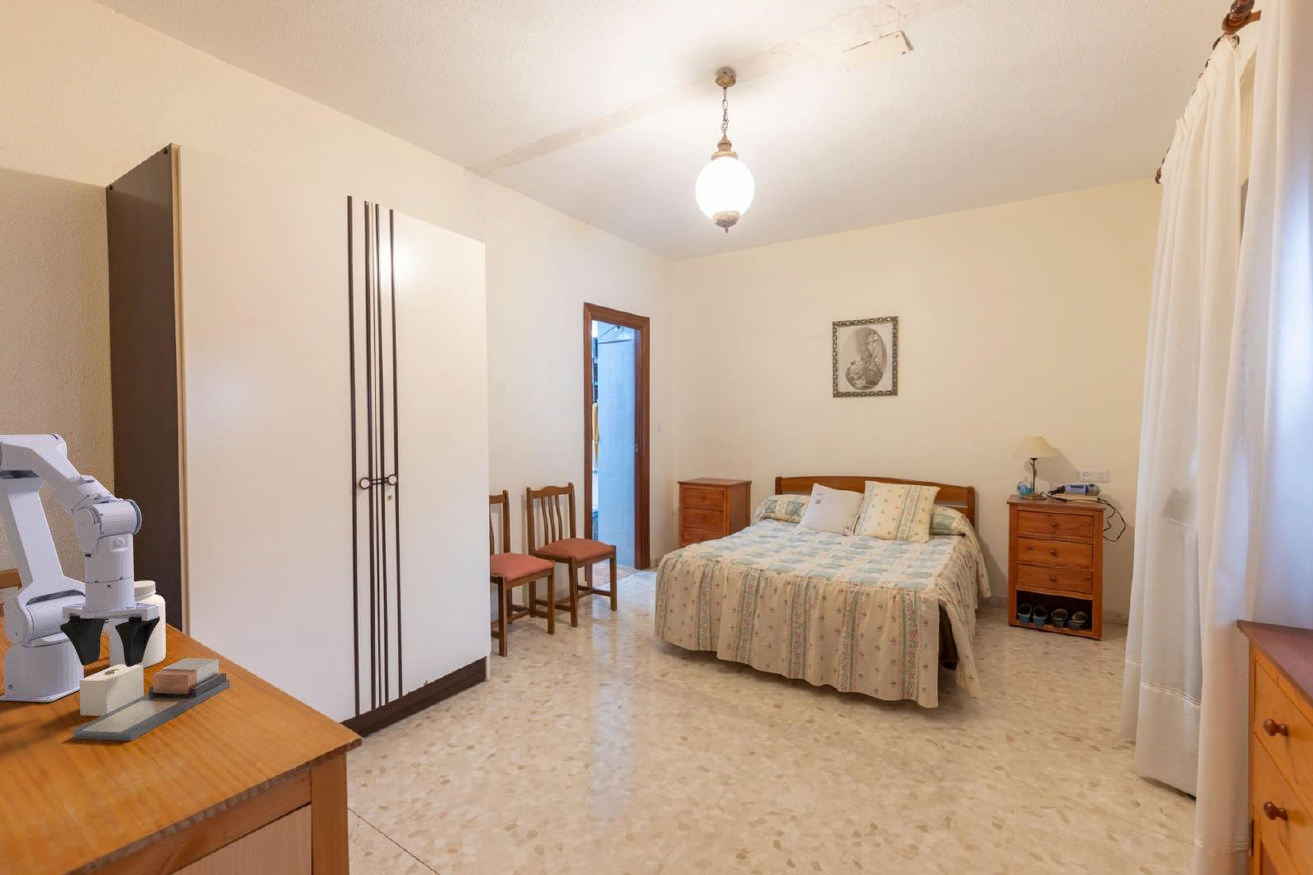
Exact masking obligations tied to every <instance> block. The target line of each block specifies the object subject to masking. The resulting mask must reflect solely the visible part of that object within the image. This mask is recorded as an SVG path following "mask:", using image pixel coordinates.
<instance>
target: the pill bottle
mask: <svg viewBox="0 0 1313 875" xmlns="http://www.w3.org/2000/svg"><path fill="white" fill-rule="evenodd" d="M156 593H157V591H156V582H155V581H154V580H137V581H134V601H136V602H141V603H146V604H151V605H159V616H160V621H159V622H158V624H157V625H156V627H155V628H154V630H153V632H152V634H151V636H150V638H149V641H148V643H147V646H146V649H145V653H144V657H143V660H142V662H141V663H139V664H136V665H143V669H145V668H148V667H151V666H154V665H157V664H159V663H161V662H162V661H163V660H165V658H166V655H167V654H166V653H167V651H166V650H167V645H166V644H167V640H166V601H165V599H164V597H163V596H161V595H159V594H156ZM124 622H129V621H128V619H109V636H108V638H109V639H108V640H109V643H108V644H109V668H110V667H113V666H115V665H118V664H119V665H126V664H125V660H124V650H123V644H122V641H121V638H120V636H119V634H118V632H117V630H116V629H115V625H118V624H121V623H124Z"/></svg>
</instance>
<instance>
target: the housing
mask: <svg viewBox="0 0 1313 875" xmlns="http://www.w3.org/2000/svg"><path fill="white" fill-rule="evenodd" d="M144 681H145V680H144V668H143V665H134V666H132V667H126V665H119V664H118V665H115V666H113V667H110V666H109V667H108V668H106V669H103V670H101V671H98V672H95V673H94V674H90V675H88V676H86V677H84V678H83V679H81V680H79V685H80V690H79V711H80V713H79V715H81V716H93V717H94V716H95V717H96V716H98V717H101V716H103V715H105V714H107V713H109V712H111V711H113V710H115V709H117V708H119V707H122V706H124V705H126V704H128V703H130V702H132V701H134V700H136V699H138V698H140V697H142V696H144V695H145V694H144V693H145V690H144V688H145V684H144V683H145V682H144Z"/></svg>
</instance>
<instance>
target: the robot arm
mask: <svg viewBox="0 0 1313 875" xmlns="http://www.w3.org/2000/svg"><path fill="white" fill-rule="evenodd" d="M49 485H50V486H51V487H52V488H54V490H53V494H52V496H53V500H54V501H55V503H57V504H58V506H60V507H61V508H62V509H63V510H64V511H65V512H66V513H67V514H68V515H69V516H70V518H72V519H73V520H74V521H73V522H72V523H73V531H74V534H75V536H76V538H77V540H78V549H79V551H80V553H83V559H84V564H83V565H84V582H83V581H80V580H78V579H74V578H71V577H68V576H65V575H64V572H63V568H62V565H61V562H60V559H59V555H58V553H57V548H56V545H55V543H54V539H53V537H52V534H51V531H50V526H49V524H48V523H49V522H48V520H47V518H46V513H45V511H44V507H43V505H42V501H41V497H40V495H39V492H40V490H41V489H43V488H45V487H47V486H49ZM0 515H1V520H2V522H3V527H4V529H5V532H6V535H7V539H8V543H9V546H10V549H11V553H12V556H13V560H14V563H15V566H16V569H17V572H18V577H19V579H20V582H21V583H20V584H21V587H20V588H19V589H18V590H17V591H16V592H14V593H13V594H12V595H11V596H9V598H7V599H6V601H5V602H4V604H3V605H2V607H3V608H2V610H3V615H4V616H3V617H4V621H3V629H4V633H5V636H6V637H7V639H8V640H9V641H10V642H12V643H13V644H12V645H11V646H10V647H9V649H8V650H7V651H6V653H5V655H4V658H3V661H2V662H3V663H2V664H3V688H4V689H3V692H4V694H3V695H1V696H0V701H8V702H11V701H12V702H31V703H32V702H34V703H37V702H39V703H50V702H54V701H56V700H58V699H62V698H63V697H65V696H68V695H70V694H73V693H75V692H77V691H80V685H79V680H81V679H83V678H85V674H84V671H85V669H84V666H88V665H91V664H93V663H95V662H98V661H99V660H100V655H101V640H102V639H101V638H102V636H101V633H102V629H103V626H104V622H105V620H106V619H128V621H129V622H124V623H121V624H118V625H115V629H116V630H117V632H118V634H119V636H120V638H121V641H122V644H123V650H124V660H125V664H126V667H132V666H134V665H136V664H139V663H141V662H142V660H143V657H144V653H145V649H146V646H147V643H148V641H149V638H150V636H151V634H152V632H153V630H154V628H155V627H156V625H157V624H158V622H159V621H160V616H159V605H151V604H146V603H141V602H136V601H134V582H135V572H134V571H135V570H134V566H135V565H134V535H136V534H137V533H139V531H140V530H141V526H142V522H143V520H142V513H141V510H140V508H139V506H138V505H137V503H136V501H135V500H133V499H123V498H117V497H116V496H115V495H113V493H111V492H110V491H109V490H108V489H107V488H106V487H104V485H103V484H101V482H100V481H99V480H97V479H96V478H95V477H94V476H92V475H86V474H80V472H79V471H78V470H77V469H76V468H75V466H74V465H73V464H72V462H70V460H69V459H68V447H67V443H66V441H65V440H64V438H62V436H61V435H59V434H58V433H55V432H53V433H52V432H51V433H45V434H40V433H39V434H0ZM102 634H103V633H102Z"/></svg>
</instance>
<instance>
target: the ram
mask: <svg viewBox="0 0 1313 875" xmlns="http://www.w3.org/2000/svg"><path fill="white" fill-rule="evenodd" d="M219 660H220V659H219V658H199V657H197V658H196V657H195V658H194V657H185V658H182V659H180V660H178V661H176V662H174V663H172V664H170V665H167V666H165V667H163V668H162V669H161V670H160V671H156V672H154V673H153V674H152V683H153V684H152V685H153V689H154V693H176V694H189V693H191V689H192V688H194V687H196V686H198V685H200V684H201V683H203V682H205V681H207V680H209V679H211V678H213V677H215V676H217V675H219V674H220V669H219V668H220V666H219V664H220V663H219V662H220V661H219Z"/></svg>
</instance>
